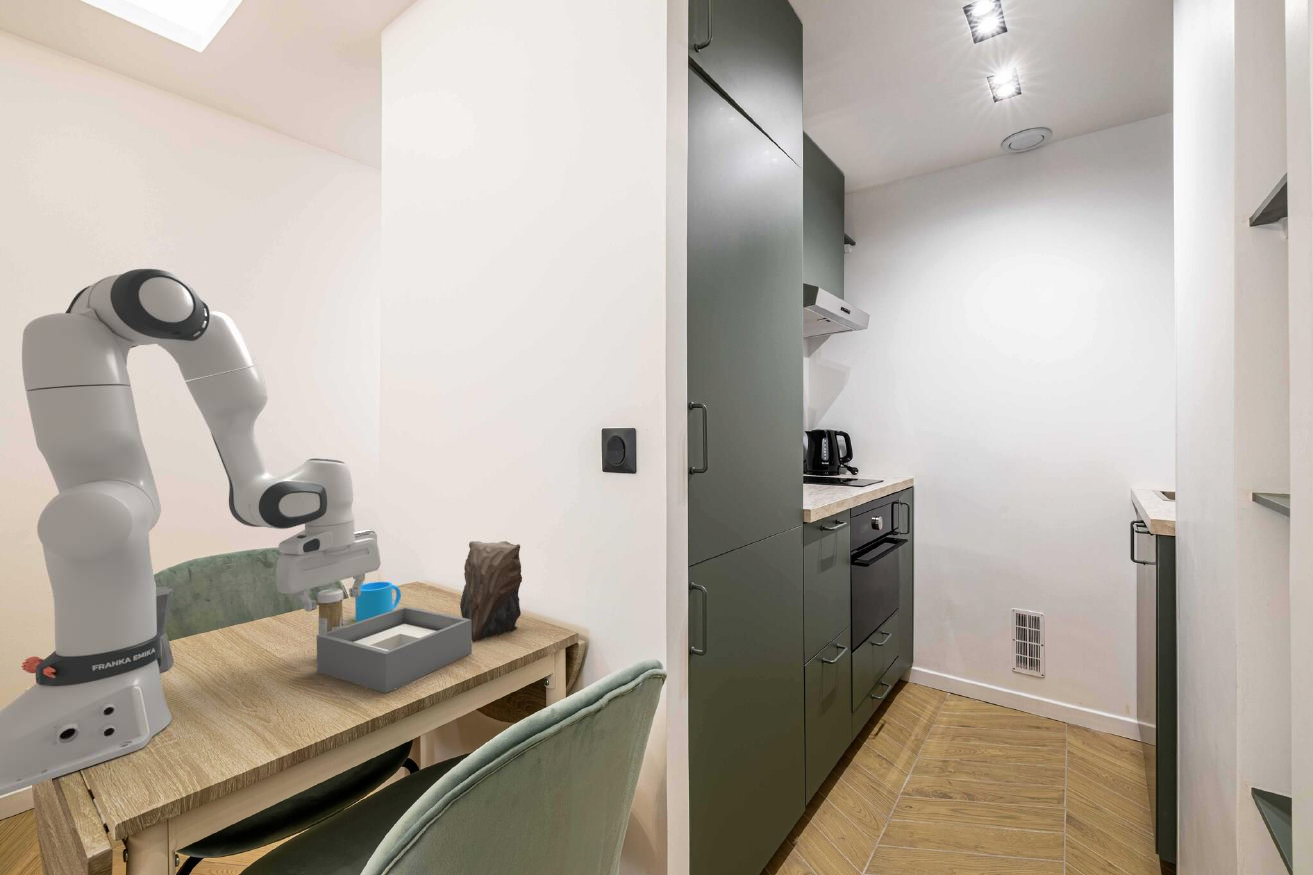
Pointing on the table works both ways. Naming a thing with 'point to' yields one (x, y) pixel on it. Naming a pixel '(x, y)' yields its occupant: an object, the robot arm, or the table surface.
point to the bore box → (393, 647)
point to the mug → (375, 600)
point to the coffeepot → (162, 619)
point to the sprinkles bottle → (330, 610)
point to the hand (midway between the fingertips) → (333, 603)
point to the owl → (491, 588)
